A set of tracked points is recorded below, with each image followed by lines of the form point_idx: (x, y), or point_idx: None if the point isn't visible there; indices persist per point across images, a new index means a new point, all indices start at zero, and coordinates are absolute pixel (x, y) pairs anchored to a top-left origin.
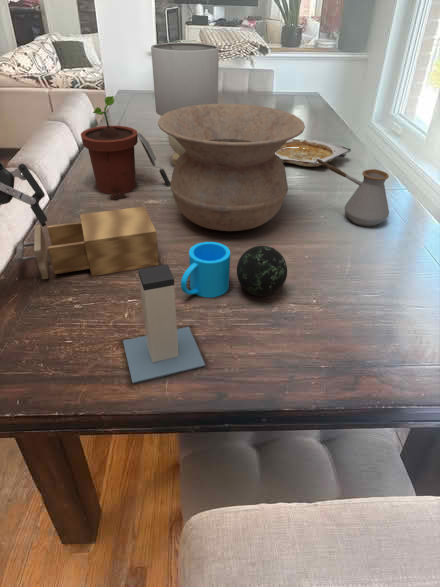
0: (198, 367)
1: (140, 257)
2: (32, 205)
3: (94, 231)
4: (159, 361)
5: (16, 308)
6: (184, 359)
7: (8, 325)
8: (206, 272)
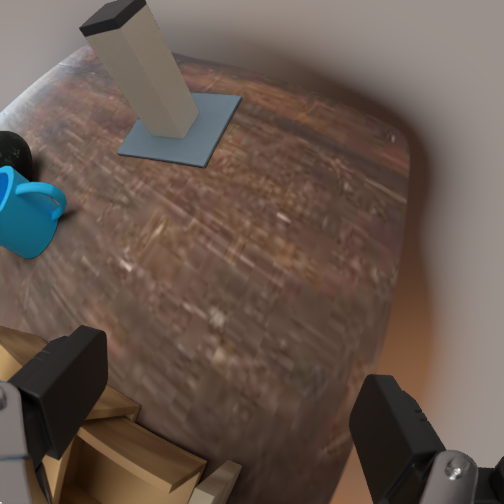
0: None
1: (40, 348)
2: (27, 404)
3: None
4: None
5: (342, 399)
6: None
7: (377, 342)
8: (25, 180)
